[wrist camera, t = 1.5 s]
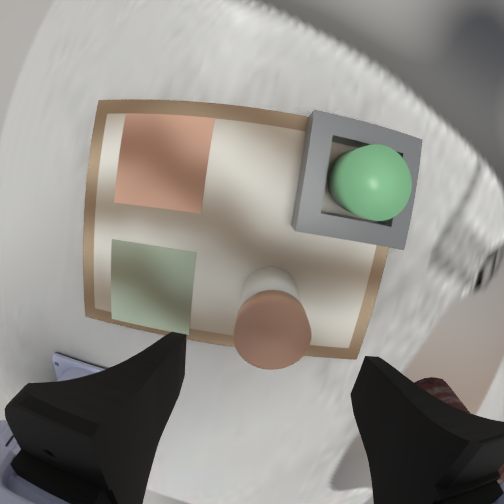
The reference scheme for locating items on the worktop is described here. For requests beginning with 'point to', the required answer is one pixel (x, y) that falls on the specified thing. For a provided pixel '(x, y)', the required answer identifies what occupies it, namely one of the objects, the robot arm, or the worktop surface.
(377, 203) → the button
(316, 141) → the button housing
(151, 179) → the board
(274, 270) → the marker
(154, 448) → the robot arm
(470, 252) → the worktop surface
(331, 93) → the worktop surface
